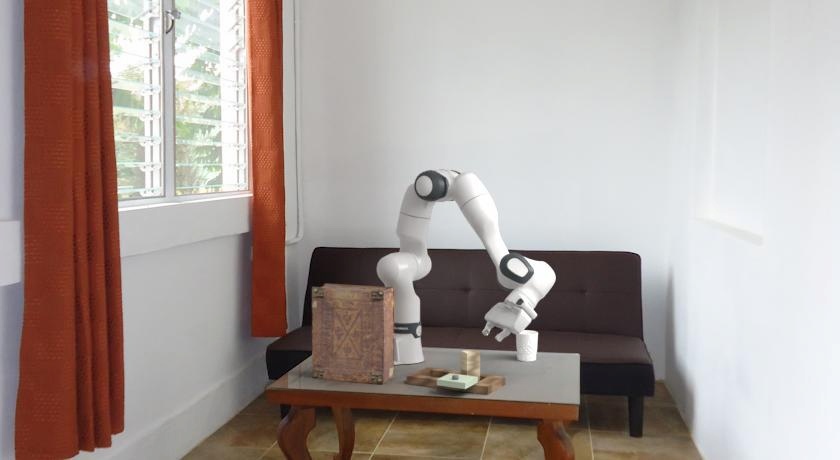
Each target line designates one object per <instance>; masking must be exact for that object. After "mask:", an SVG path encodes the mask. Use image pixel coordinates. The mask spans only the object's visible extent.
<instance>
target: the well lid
mask: <svg viewBox="0 0 840 460" xmlns="http://www.w3.org/2000/svg"><path fill="white" fill-rule="evenodd" d="M476 383H478V377H476V376H468V375H460V374H452V373H449V374H447V375H445V376H443V377H441V378H439V379H437V385H439V386H446V387H454V388H461V389H467V388H468V387H470V386H472V385H474V384H476Z"/></svg>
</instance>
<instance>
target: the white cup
mask: <svg viewBox="0 0 840 460" xmlns="http://www.w3.org/2000/svg"><path fill="white" fill-rule="evenodd" d="M515 338H516V339H515V343H516V354H517V357H516V358H517V361H520V362H527V363H528V362H531V363H532V362H535V361H537V353H538V340H539V332H538V331H536V330H528V329H526V330H525V329H524V330H523V331H522V332H521V333H519V334H517V335H516V334H515Z"/></svg>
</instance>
